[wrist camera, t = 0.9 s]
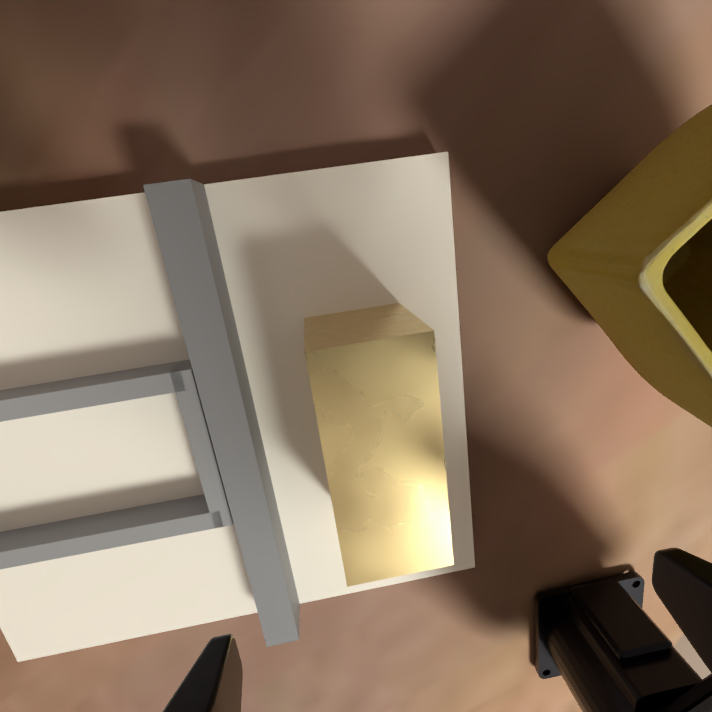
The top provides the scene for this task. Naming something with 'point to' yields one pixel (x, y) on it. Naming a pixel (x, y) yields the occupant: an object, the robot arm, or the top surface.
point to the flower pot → (653, 266)
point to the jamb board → (199, 395)
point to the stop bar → (381, 439)
